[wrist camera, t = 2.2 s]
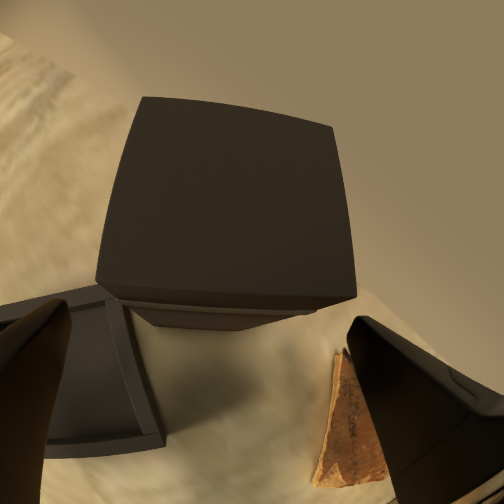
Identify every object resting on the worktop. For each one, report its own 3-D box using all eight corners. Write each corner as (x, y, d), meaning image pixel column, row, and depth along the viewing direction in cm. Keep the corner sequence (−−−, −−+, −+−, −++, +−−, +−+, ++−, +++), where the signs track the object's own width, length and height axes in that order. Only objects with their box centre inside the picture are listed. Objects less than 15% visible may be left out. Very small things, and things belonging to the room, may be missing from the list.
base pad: (167, 435, 15) (166, 447, 13) (35, 449, 11) (22, 458, 9) (124, 287, 17) (117, 279, 15) (-1, 314, 14) (-17, 309, 12)
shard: (332, 347, 19) (346, 346, 17) (406, 355, 20) (421, 355, 19) (304, 482, 15) (314, 492, 14) (382, 472, 17) (395, 478, 15)
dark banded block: (239, 331, 18) (359, 299, 6) (152, 326, 17) (91, 283, 5) (240, 256, 20) (333, 125, 8) (158, 249, 18) (141, 94, 6)
